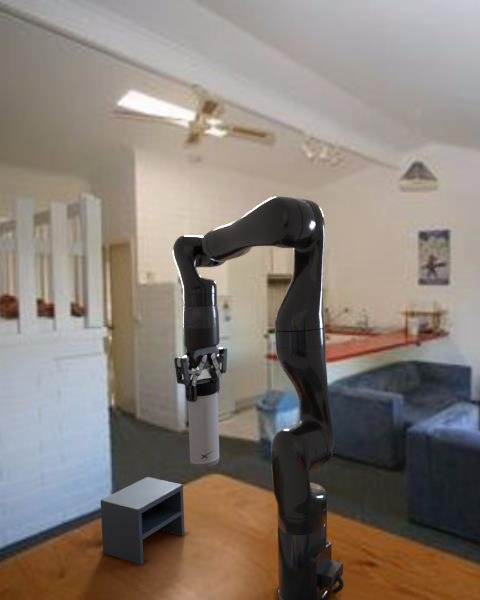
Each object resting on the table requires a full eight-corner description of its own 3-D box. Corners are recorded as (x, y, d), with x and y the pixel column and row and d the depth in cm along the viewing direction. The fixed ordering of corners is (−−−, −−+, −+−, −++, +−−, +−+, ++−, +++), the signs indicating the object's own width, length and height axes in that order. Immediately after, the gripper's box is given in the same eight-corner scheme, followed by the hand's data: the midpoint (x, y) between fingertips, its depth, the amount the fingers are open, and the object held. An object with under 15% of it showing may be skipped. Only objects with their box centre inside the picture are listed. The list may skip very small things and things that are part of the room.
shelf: (184, 534, 111) (182, 484, 110) (140, 564, 100) (138, 509, 99) (149, 524, 115) (147, 476, 114) (102, 553, 104) (100, 500, 103)
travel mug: (210, 470, 107) (207, 382, 105) (184, 467, 108) (181, 381, 107) (226, 459, 113) (223, 376, 111) (201, 456, 114) (198, 374, 113)
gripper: (189, 330, 100) (192, 408, 101) (236, 321, 113) (238, 390, 115) (162, 328, 102) (165, 404, 104) (211, 320, 116) (213, 387, 117)
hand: (203, 396), depth 109 cm, fingers closed on travel mug, 6 cm apart
